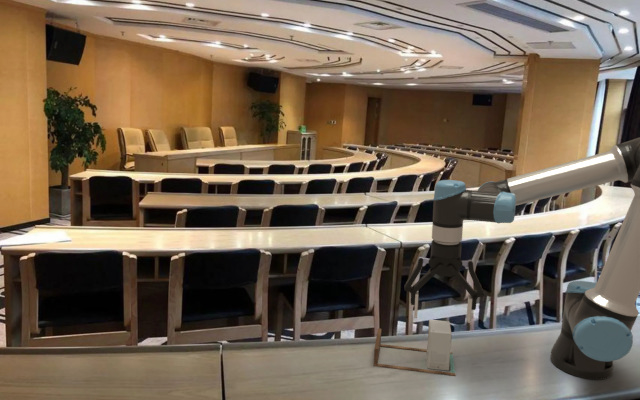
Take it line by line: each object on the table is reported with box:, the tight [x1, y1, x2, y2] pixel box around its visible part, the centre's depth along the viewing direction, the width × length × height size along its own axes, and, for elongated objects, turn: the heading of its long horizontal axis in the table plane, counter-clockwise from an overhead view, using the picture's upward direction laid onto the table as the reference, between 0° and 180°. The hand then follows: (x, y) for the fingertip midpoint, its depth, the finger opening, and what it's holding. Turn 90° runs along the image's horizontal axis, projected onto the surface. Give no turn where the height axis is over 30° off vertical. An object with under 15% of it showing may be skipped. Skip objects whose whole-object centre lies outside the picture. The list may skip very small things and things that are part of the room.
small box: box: [426, 319, 453, 372], centre depth 134 cm, size 8×6×10 cm
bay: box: [373, 328, 456, 377], centre depth 136 cm, size 21×12×5 cm, turn 79°
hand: (441, 318), depth 133 cm, fingers open, 13 cm apart
